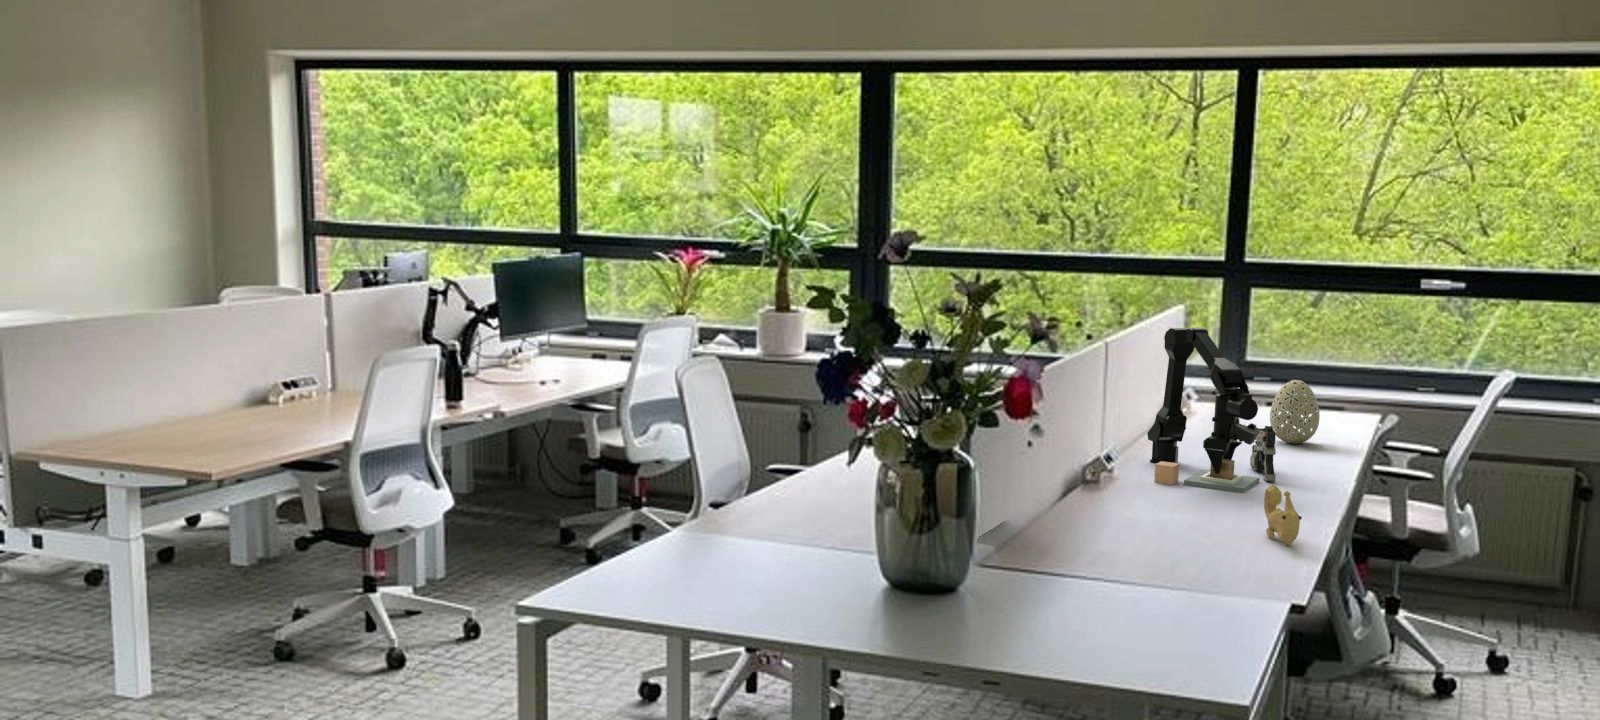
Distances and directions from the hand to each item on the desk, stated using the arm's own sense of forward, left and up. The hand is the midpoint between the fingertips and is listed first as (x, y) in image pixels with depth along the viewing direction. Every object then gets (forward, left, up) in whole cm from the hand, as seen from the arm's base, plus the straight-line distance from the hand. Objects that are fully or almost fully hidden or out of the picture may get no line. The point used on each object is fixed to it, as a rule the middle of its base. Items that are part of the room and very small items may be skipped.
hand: (1222, 470), depth 388 cm
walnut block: (0, 0, -2) cm, 2 cm away
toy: (+28, -53, -4) cm, 60 cm away
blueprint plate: (0, 0, -4) cm, 4 cm away
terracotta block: (-13, -7, -4) cm, 15 cm away
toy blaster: (+6, +19, -4) cm, 20 cm away
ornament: (+2, +73, -4) cm, 73 cm away
